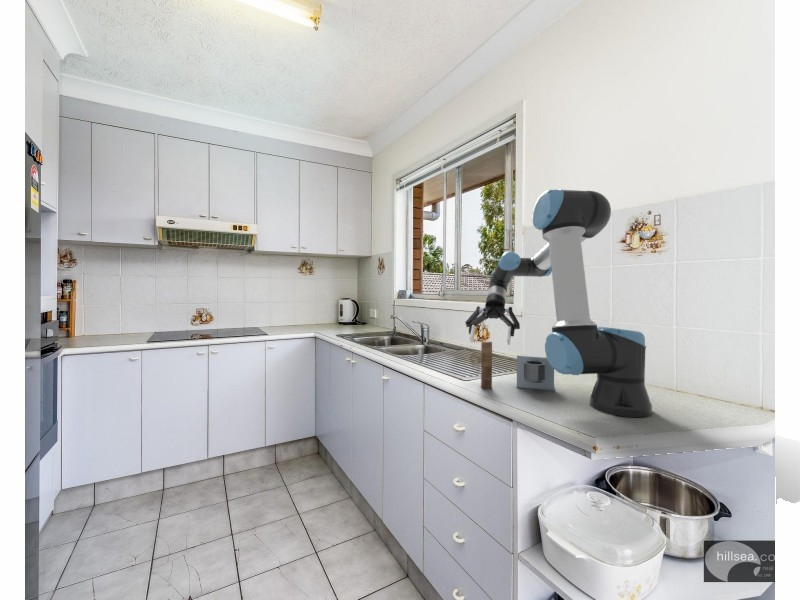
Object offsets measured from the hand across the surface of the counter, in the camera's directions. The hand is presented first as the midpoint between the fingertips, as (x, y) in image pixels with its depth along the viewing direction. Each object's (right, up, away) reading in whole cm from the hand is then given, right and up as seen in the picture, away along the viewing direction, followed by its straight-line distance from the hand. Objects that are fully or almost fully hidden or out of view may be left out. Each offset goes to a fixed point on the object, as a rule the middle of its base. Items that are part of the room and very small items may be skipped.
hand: (489, 341), depth 131 cm
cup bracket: (+12, -11, -13) cm, 21 cm away
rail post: (-3, -15, -8) cm, 17 cm away
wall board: (+14, -15, -7) cm, 22 cm away
